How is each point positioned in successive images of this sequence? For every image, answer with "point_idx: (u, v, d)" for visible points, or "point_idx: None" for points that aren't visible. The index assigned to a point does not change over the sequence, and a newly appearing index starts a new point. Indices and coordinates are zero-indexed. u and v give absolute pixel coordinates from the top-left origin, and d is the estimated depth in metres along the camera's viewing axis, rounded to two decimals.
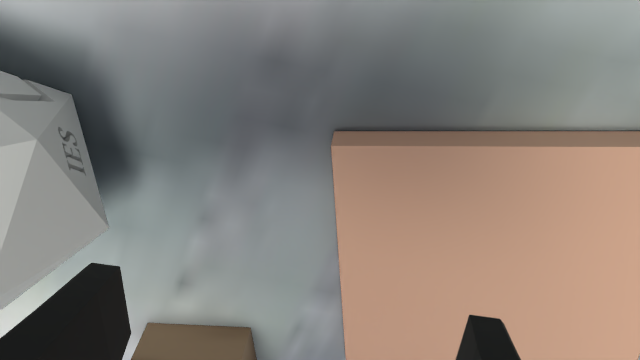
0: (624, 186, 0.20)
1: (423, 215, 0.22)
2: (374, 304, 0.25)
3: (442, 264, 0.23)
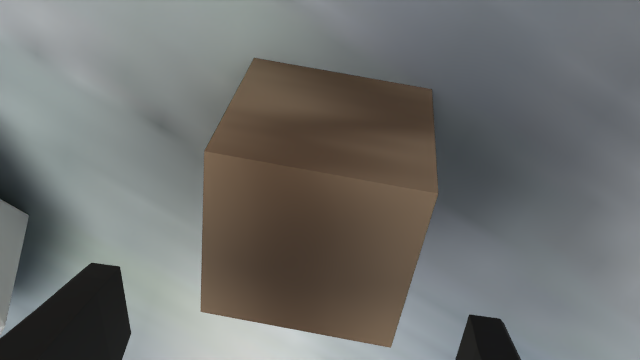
0: None
1: None
2: None
3: None
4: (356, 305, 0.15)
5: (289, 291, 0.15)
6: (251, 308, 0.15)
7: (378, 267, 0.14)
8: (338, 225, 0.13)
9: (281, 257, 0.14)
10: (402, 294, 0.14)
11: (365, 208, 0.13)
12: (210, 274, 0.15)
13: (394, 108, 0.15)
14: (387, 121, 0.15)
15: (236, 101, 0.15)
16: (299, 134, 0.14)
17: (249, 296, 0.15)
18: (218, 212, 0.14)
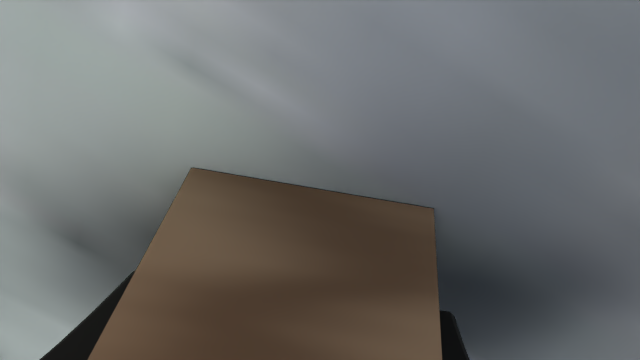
0: None
1: None
2: None
3: None
4: None
5: None
6: None
7: None
8: None
9: None
10: None
11: None
12: None
13: (381, 252, 0.11)
14: (370, 280, 0.10)
15: (151, 256, 0.10)
16: (238, 316, 0.09)
17: None
18: None
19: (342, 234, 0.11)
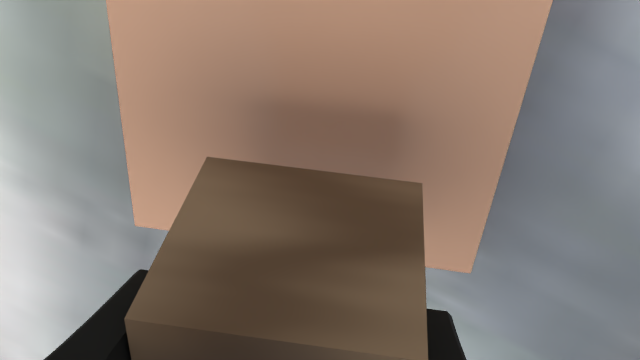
0: None
1: None
2: None
3: (283, 151, 0.19)
4: None
5: None
6: None
7: None
8: None
9: None
10: None
11: None
12: None
13: (374, 220, 0.12)
14: (364, 243, 0.12)
15: (176, 230, 0.12)
16: (252, 276, 0.11)
17: None
18: None
19: (340, 207, 0.13)
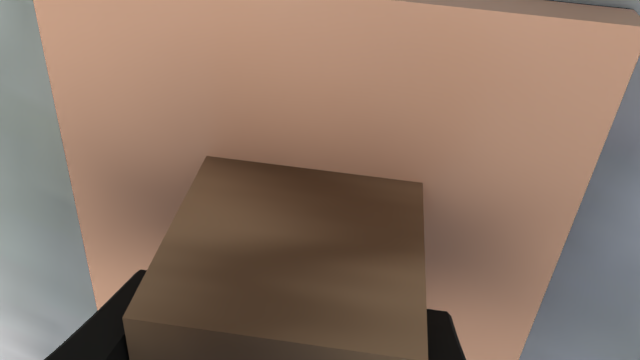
0: (115, 75, 0.13)
1: None
2: None
3: None
4: None
5: None
6: None
7: None
8: None
9: None
10: None
11: None
12: None
13: (374, 220, 0.12)
14: (364, 243, 0.12)
15: (175, 229, 0.12)
16: (251, 275, 0.11)
17: None
18: None
19: (340, 206, 0.13)
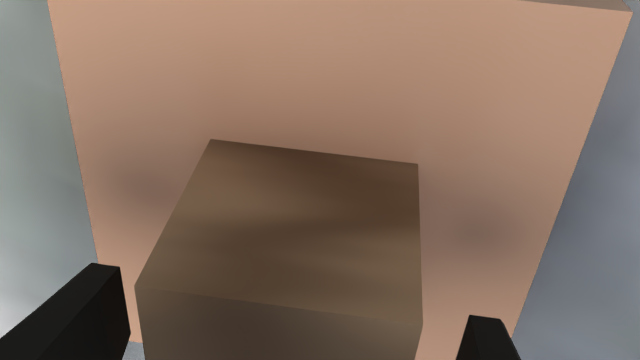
0: (123, 60, 0.14)
1: None
2: None
3: None
4: None
5: None
6: None
7: None
8: None
9: None
10: None
11: (335, 341, 0.11)
12: None
13: (372, 198, 0.13)
14: (362, 218, 0.12)
15: (182, 206, 0.12)
16: (255, 248, 0.11)
17: None
18: (161, 349, 0.11)
19: (339, 185, 0.13)
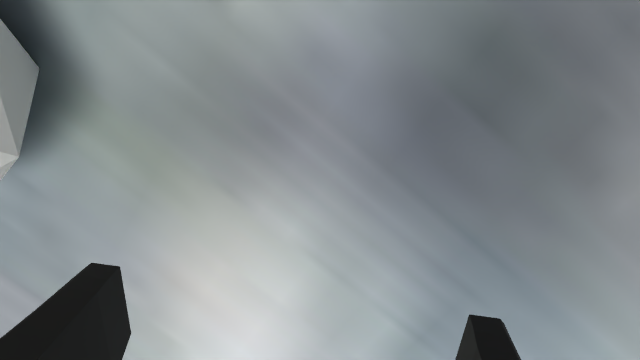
0: None
1: None
2: None
3: None
4: None
5: None
6: None
7: None
8: None
9: None
10: None
11: None
12: None
13: None
14: None
15: None
16: None
17: None
18: None
19: None
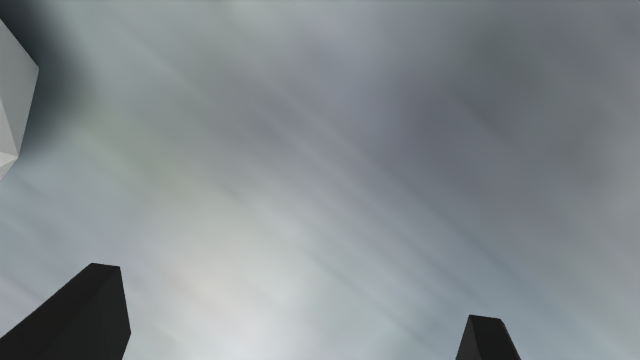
0: None
1: None
2: None
3: None
4: None
5: None
6: None
7: None
8: None
9: None
10: None
11: None
12: None
13: None
14: None
15: None
16: None
17: None
18: None
19: None
